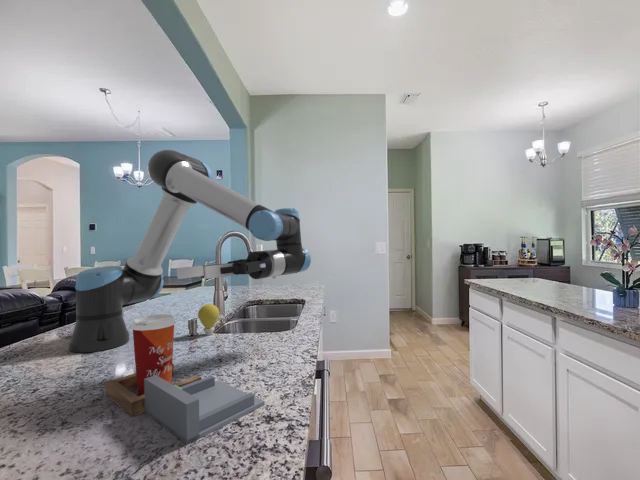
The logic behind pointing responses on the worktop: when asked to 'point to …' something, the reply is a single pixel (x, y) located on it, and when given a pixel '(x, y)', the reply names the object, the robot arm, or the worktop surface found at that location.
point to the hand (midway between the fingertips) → (190, 273)
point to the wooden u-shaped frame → (129, 400)
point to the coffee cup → (153, 347)
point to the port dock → (195, 406)
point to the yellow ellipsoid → (208, 317)
